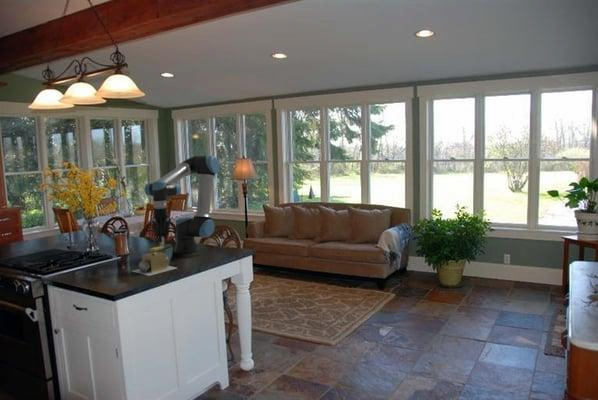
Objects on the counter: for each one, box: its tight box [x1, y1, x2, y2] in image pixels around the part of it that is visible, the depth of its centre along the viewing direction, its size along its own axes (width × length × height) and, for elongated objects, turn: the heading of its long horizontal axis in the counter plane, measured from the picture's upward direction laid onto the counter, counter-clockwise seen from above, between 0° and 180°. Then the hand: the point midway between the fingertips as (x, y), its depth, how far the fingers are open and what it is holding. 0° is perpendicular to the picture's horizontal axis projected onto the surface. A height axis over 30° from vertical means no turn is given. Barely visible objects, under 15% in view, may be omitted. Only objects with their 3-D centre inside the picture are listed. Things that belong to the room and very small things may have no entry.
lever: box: [148, 243, 173, 253], centre depth 276 cm, size 14×4×1 cm, turn 145°
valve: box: [137, 251, 171, 273], centre depth 272 cm, size 9×18×11 cm, turn 140°
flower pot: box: [156, 246, 174, 260], centre depth 292 cm, size 9×9×9 cm
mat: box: [131, 265, 178, 277], centre depth 273 cm, size 18×19×1 cm
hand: (162, 247), depth 280 cm, fingers closed
